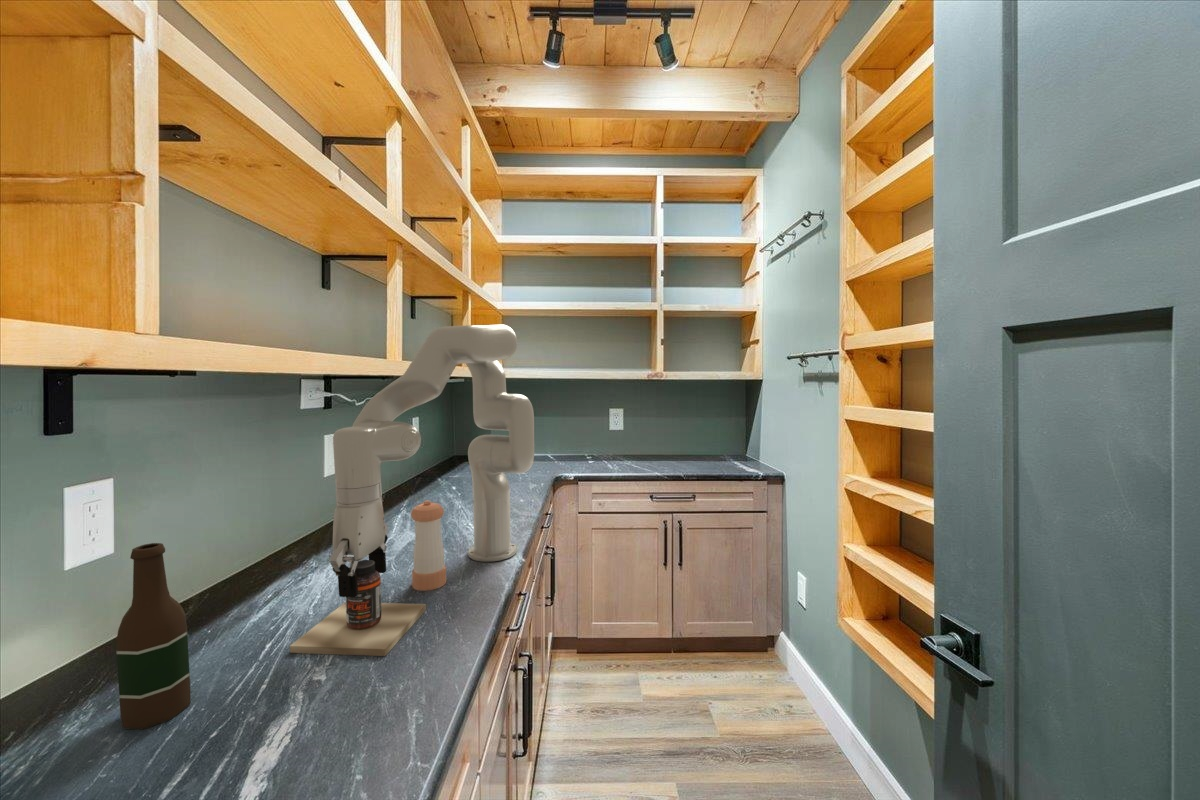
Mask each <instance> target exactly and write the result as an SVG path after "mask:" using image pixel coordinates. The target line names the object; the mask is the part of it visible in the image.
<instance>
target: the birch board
mask: <svg viewBox="0 0 1200 800" xmlns="http://www.w3.org/2000/svg"><path fill="white" fill-rule="evenodd" d="M426 610H427V604H426V603H403V602H402V603H400V602H399V603H397V602H393V603H392V602H381V620H380V621H379V622H378V623H376V624H375V625H373V626H371V627H368V628H364V629H352V628H349V627H348V626H347V621H346V601H345V602H344V603H342V604H341V605H340V606H339V607H337V608H336V609H334V610H333V611H332V612H331V613H329V614H328V615H327V616H326V617H324V618H323V619H322V620H320V622H318V623H316V624H315V625H314V626H313V627H312V628H310V629H309V630H308V631H307V632H305V633H304V634H303V635H302V636H301V637H299V638H297V639H296V640H295V641H294V642H293V643H291V644H290V645H289V653H291V654H311V655H313V654H314V655H315V654H317V655H345V656H348V655H349V656H368V657H369V656H374V657H375V656H376V657H386V656H387V654H389V653H390V651H391V650H393V648H394V647H395V646H396V645H397V644H398V642H399V641H400V640H401V639H402V638H403V637H404V636H405V635H406V634H407V632H408V631H409V630H410V629H411V627H413V626H414V624H415V623H417V621H418V620H419V619H420V617H421V616H422V615H424V613H426Z"/></svg>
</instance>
